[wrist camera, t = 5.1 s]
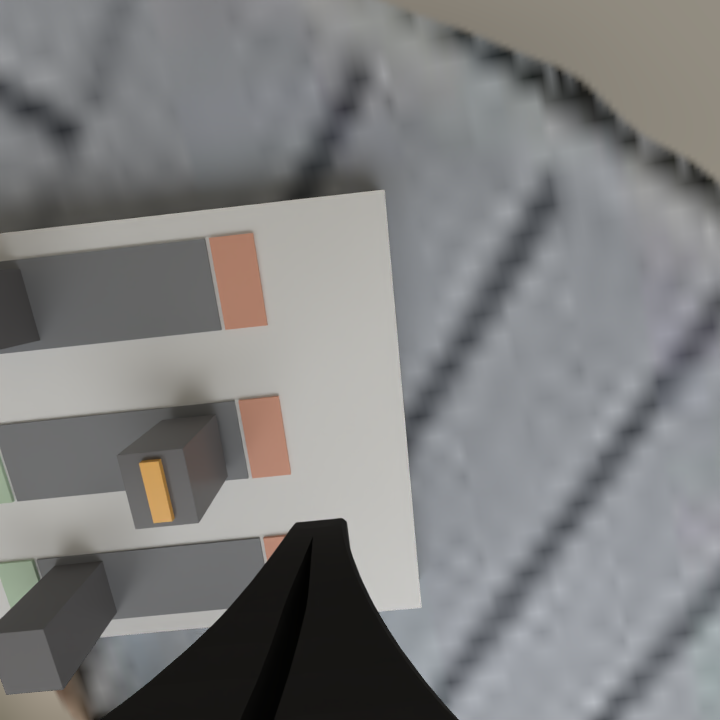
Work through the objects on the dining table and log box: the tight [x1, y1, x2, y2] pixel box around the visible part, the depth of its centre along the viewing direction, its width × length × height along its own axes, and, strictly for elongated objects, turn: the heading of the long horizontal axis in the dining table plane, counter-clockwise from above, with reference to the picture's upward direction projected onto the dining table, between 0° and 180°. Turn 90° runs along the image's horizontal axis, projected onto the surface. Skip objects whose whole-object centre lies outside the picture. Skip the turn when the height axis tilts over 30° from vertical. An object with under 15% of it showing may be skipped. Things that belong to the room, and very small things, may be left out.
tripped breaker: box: [116, 414, 228, 529], centre depth 17 cm, size 3×2×4 cm
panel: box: [0, 190, 422, 695], centre depth 18 cm, size 20×26×6 cm
